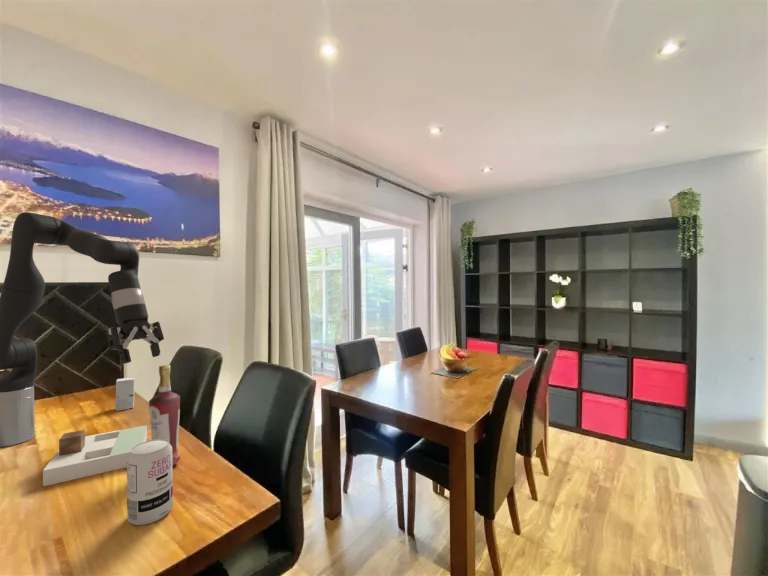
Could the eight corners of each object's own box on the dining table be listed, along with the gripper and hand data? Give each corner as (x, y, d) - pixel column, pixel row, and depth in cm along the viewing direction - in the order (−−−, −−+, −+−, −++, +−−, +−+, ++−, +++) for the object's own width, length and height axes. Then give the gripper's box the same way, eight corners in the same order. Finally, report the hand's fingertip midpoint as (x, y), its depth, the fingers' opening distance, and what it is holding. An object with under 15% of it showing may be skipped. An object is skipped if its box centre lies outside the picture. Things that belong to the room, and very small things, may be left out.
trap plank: (43, 486, 84) (42, 470, 84) (66, 452, 101) (66, 439, 101) (140, 464, 95) (140, 450, 95) (146, 437, 112) (146, 425, 112)
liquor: (186, 461, 96) (186, 364, 96) (162, 475, 89) (161, 370, 89) (168, 457, 98) (167, 362, 98) (143, 470, 91) (142, 368, 91)
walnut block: (59, 456, 92) (59, 439, 92) (64, 449, 95) (63, 433, 95) (81, 451, 94) (80, 435, 94) (84, 445, 98) (84, 429, 98)
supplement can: (142, 503, 77) (142, 438, 77) (180, 501, 78) (179, 437, 78) (117, 528, 69) (117, 456, 69) (159, 526, 70) (159, 454, 70)
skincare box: (115, 411, 135) (115, 381, 135) (116, 408, 139) (116, 379, 139) (134, 408, 139) (134, 379, 139) (135, 405, 143) (134, 376, 143)
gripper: (144, 307, 106) (156, 357, 105) (94, 311, 93) (107, 368, 92) (161, 301, 104) (173, 351, 103) (112, 303, 91) (126, 362, 89)
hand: (142, 359), depth 97 cm, fingers open, 8 cm apart
